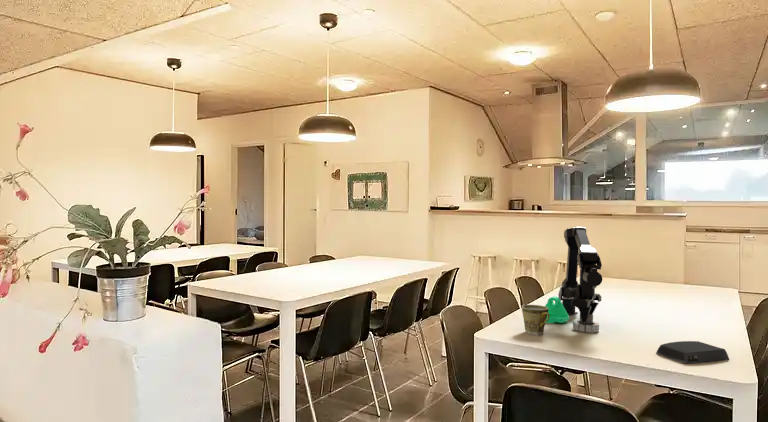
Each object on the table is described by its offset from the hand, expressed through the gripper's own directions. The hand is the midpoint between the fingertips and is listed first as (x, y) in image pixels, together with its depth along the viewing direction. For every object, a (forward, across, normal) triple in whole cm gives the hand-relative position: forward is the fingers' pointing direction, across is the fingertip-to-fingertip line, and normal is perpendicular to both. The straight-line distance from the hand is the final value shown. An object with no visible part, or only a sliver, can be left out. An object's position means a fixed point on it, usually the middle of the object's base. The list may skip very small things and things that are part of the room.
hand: (586, 321), depth 208 cm
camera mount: (+4, -5, -16) cm, 17 cm away
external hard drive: (+4, +12, +39) cm, 41 cm away
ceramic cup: (+4, +20, -12) cm, 24 cm away
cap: (+1, 0, 0) cm, 1 cm away
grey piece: (+4, 0, 0) cm, 4 cm away
